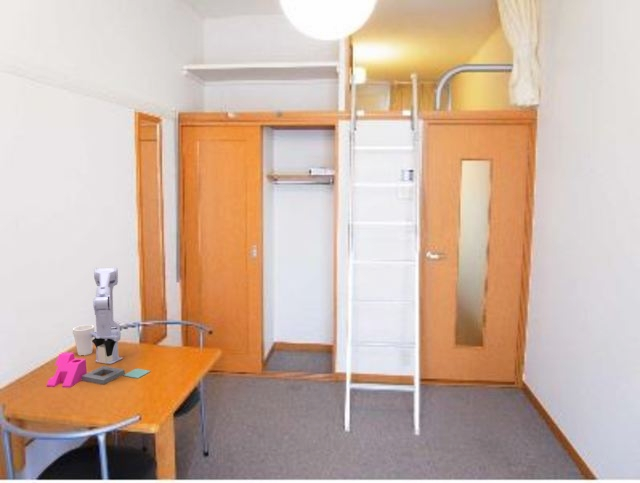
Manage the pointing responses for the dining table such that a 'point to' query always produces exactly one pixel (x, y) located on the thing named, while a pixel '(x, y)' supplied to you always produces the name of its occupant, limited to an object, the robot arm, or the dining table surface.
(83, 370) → the bracket
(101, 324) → the robot arm
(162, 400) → the dining table surface
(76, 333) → the foam cup
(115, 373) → the pocket board
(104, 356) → the block
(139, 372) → the pad
